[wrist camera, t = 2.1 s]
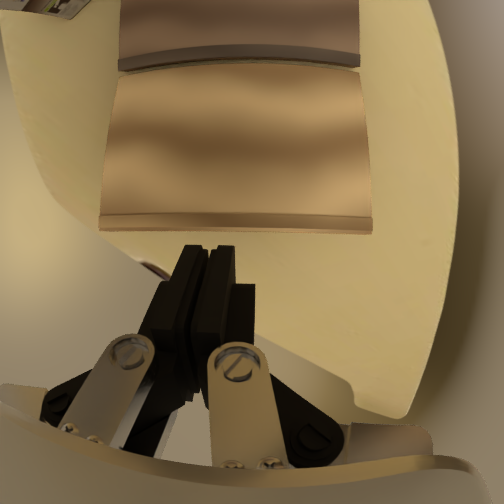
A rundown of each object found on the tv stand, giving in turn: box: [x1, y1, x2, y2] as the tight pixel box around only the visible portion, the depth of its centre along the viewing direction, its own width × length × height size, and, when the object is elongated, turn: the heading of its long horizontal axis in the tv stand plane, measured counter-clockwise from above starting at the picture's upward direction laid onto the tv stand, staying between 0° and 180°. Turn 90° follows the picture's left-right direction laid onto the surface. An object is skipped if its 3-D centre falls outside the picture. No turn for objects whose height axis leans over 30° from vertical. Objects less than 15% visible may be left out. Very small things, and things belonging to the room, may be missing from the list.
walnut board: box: [118, 0, 360, 72], centre depth 15 cm, size 8×18×2 cm, turn 90°
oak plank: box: [98, 63, 373, 235], centre depth 18 cm, size 12×18×2 cm, turn 90°
